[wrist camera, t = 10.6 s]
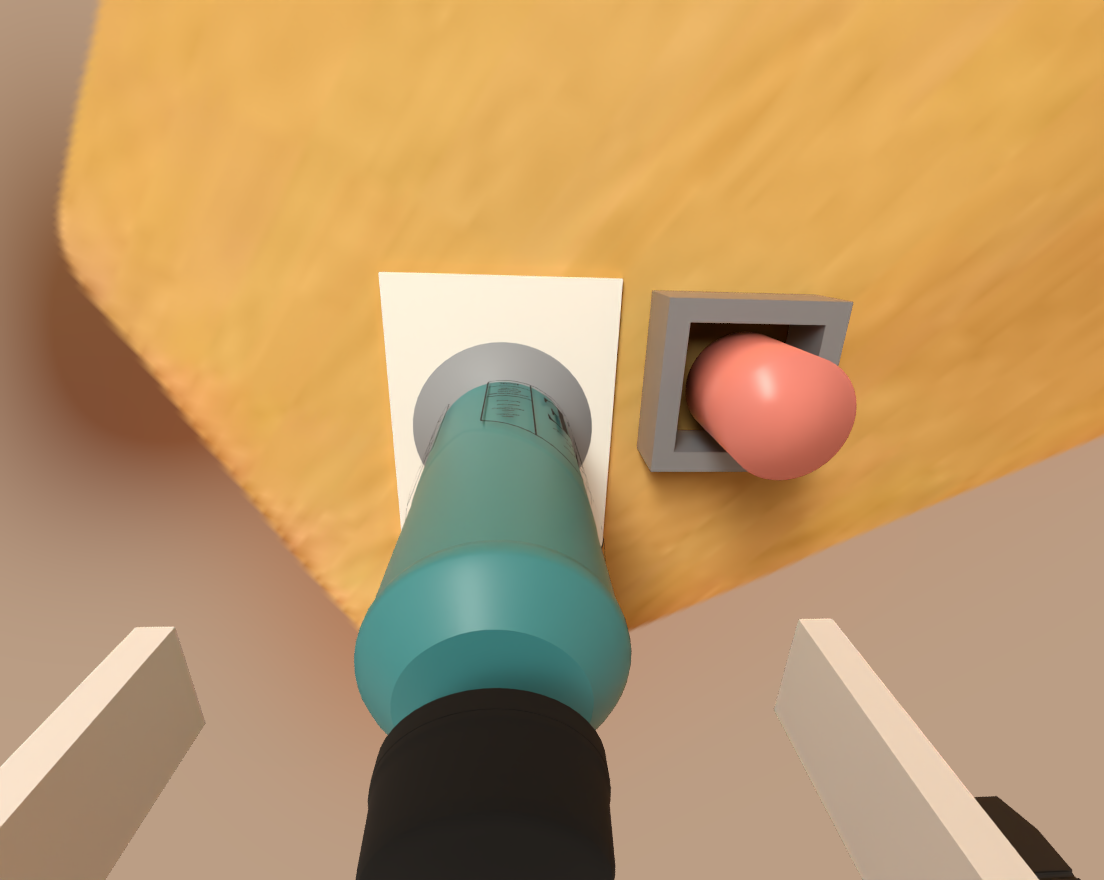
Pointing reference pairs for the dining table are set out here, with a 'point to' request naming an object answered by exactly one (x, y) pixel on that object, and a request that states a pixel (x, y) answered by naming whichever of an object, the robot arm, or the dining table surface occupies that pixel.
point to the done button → (771, 404)
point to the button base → (659, 442)
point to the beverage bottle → (493, 659)
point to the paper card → (500, 358)
